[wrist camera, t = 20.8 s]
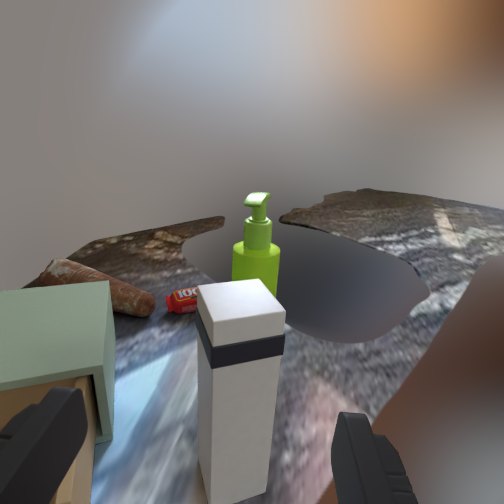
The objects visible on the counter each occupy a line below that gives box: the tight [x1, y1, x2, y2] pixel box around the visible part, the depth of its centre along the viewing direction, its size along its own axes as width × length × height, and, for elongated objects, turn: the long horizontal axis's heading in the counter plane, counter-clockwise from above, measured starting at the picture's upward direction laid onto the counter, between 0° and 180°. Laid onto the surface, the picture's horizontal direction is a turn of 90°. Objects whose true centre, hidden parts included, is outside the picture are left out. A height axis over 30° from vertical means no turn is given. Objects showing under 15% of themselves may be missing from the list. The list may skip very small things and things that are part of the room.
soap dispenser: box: [232, 192, 280, 299], centre depth 41 cm, size 6×7×20 cm
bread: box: [39, 258, 156, 317], centre depth 49 cm, size 6×19×6 cm, turn 67°
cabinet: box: [0, 280, 116, 444], centre depth 32 cm, size 16×14×9 cm
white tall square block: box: [196, 279, 286, 504], centre depth 24 cm, size 5×5×17 cm
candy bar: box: [166, 287, 197, 314], centre depth 52 cm, size 16×4×3 cm, turn 114°
